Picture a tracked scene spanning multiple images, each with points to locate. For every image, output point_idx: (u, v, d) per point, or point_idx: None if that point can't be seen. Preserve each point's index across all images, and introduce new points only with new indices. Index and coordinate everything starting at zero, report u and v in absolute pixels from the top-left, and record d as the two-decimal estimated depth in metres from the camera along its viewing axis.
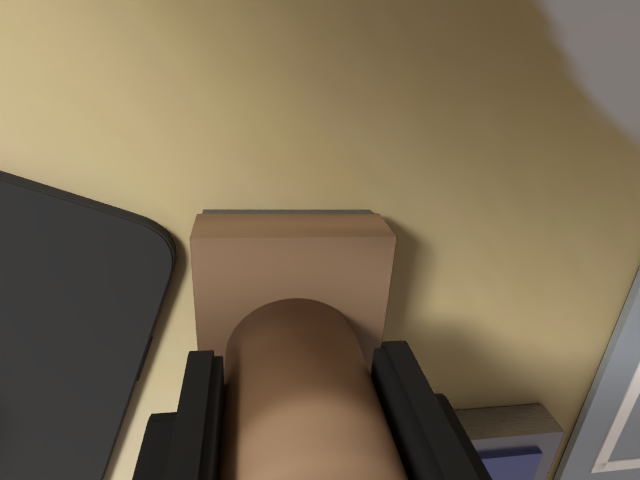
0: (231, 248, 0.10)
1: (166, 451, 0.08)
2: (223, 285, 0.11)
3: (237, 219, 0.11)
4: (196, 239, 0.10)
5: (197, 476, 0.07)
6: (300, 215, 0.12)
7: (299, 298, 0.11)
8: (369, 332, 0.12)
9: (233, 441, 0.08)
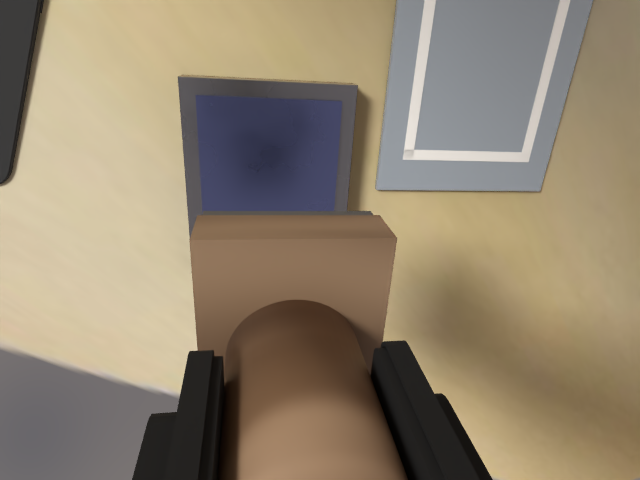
0: (231, 250, 0.10)
1: (166, 451, 0.08)
2: (223, 287, 0.11)
3: (237, 221, 0.11)
4: (196, 241, 0.10)
5: (197, 477, 0.07)
6: (300, 216, 0.12)
7: (300, 300, 0.11)
8: (369, 333, 0.12)
9: (233, 443, 0.08)
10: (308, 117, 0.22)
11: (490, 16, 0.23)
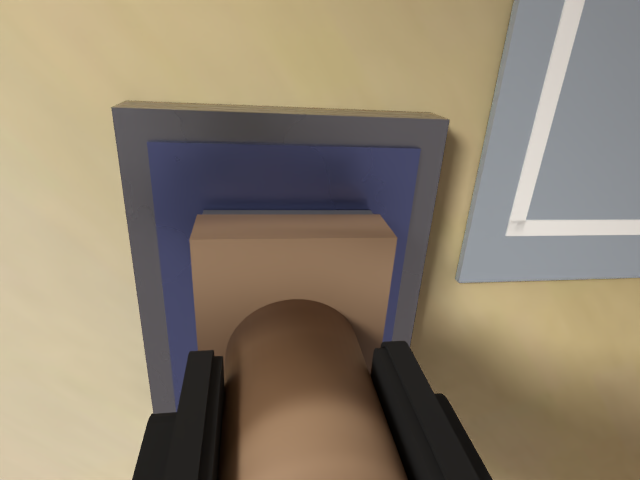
0: (231, 249, 0.10)
1: (166, 451, 0.08)
2: (223, 286, 0.10)
3: (238, 220, 0.11)
4: (196, 240, 0.10)
5: (197, 476, 0.07)
6: (300, 215, 0.12)
7: (300, 299, 0.11)
8: (369, 333, 0.12)
9: (233, 444, 0.08)
10: (358, 178, 0.12)
11: None
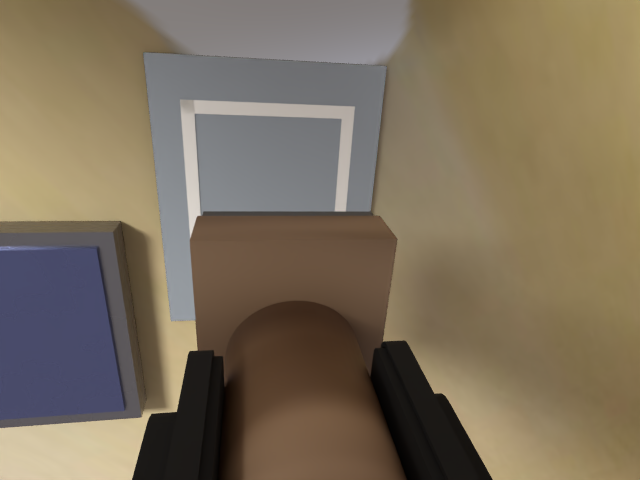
0: (231, 251, 0.10)
1: (166, 451, 0.08)
2: (223, 288, 0.11)
3: (238, 222, 0.11)
4: (196, 242, 0.10)
5: (198, 476, 0.07)
6: (300, 217, 0.12)
7: (299, 301, 0.11)
8: (369, 334, 0.12)
9: (233, 445, 0.08)
10: (60, 266, 0.21)
11: (264, 152, 0.21)
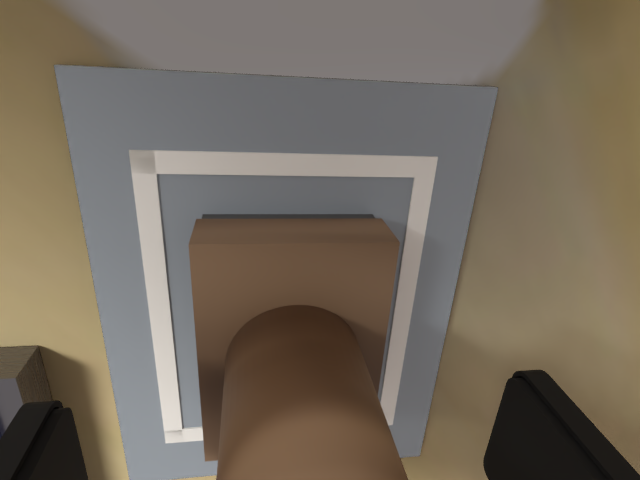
0: (231, 254, 0.10)
1: None
2: (223, 292, 0.10)
3: (237, 225, 0.11)
4: (195, 245, 0.10)
5: None
6: (301, 220, 0.11)
7: (300, 305, 0.11)
8: (372, 339, 0.12)
9: (232, 455, 0.08)
10: None
11: None
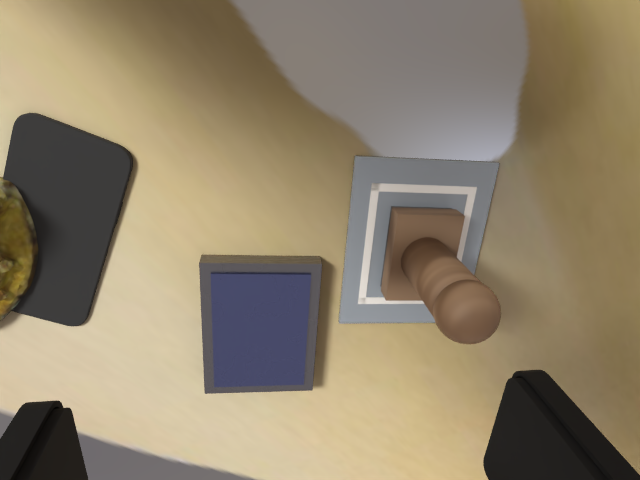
0: (410, 218, 0.30)
1: None
2: (405, 231, 0.31)
3: (407, 209, 0.31)
4: (400, 214, 0.30)
5: None
6: (428, 208, 0.32)
7: (429, 237, 0.31)
8: (452, 252, 0.32)
9: (424, 268, 0.28)
10: (287, 284, 0.32)
11: None
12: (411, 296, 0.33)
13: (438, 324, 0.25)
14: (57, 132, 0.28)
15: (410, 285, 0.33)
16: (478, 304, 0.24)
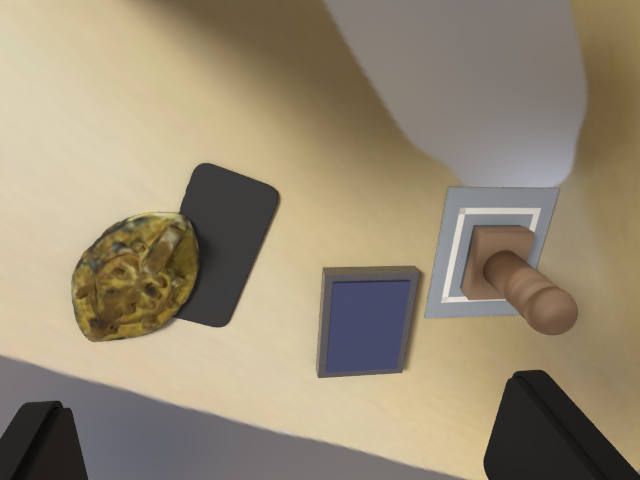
0: (493, 236, 0.39)
1: None
2: (488, 246, 0.39)
3: (488, 228, 0.40)
4: (486, 233, 0.38)
5: None
6: (503, 226, 0.40)
7: (506, 250, 0.39)
8: None
9: (510, 276, 0.36)
10: (391, 290, 0.40)
11: None
12: (488, 296, 0.41)
13: (530, 321, 0.33)
14: (225, 178, 0.35)
15: (488, 287, 0.41)
16: (563, 306, 0.32)
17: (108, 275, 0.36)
